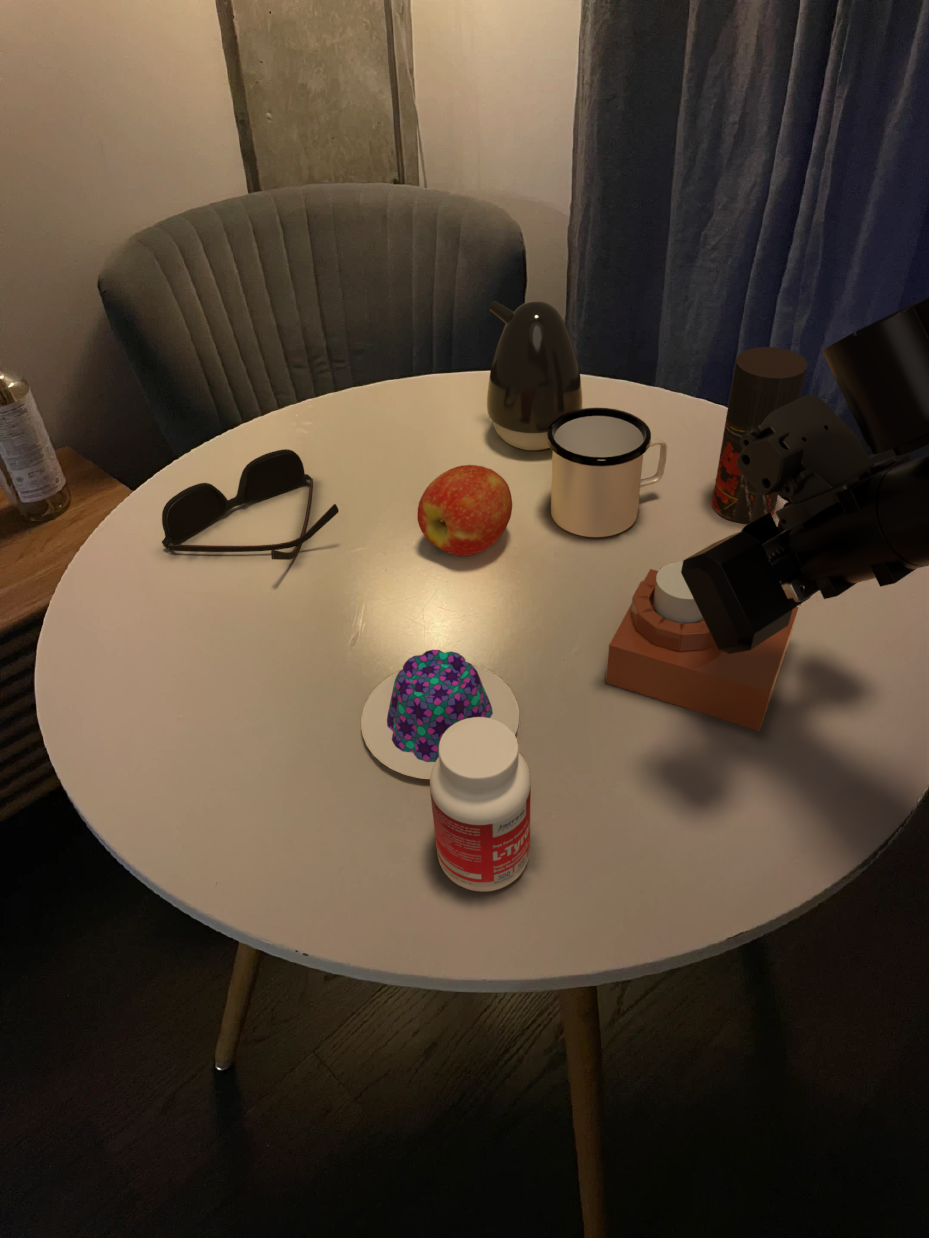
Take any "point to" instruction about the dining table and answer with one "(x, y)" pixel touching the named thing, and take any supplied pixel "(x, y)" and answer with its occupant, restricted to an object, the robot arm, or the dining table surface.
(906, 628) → the dining table surface
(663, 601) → the white cylinder
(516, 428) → the pump dispenser
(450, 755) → the pill bottle
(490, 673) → the pudding
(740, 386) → the deodorant
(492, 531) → the apple
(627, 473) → the mug
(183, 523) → the sunglasses
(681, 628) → the button housing
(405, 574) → the dining table surface
